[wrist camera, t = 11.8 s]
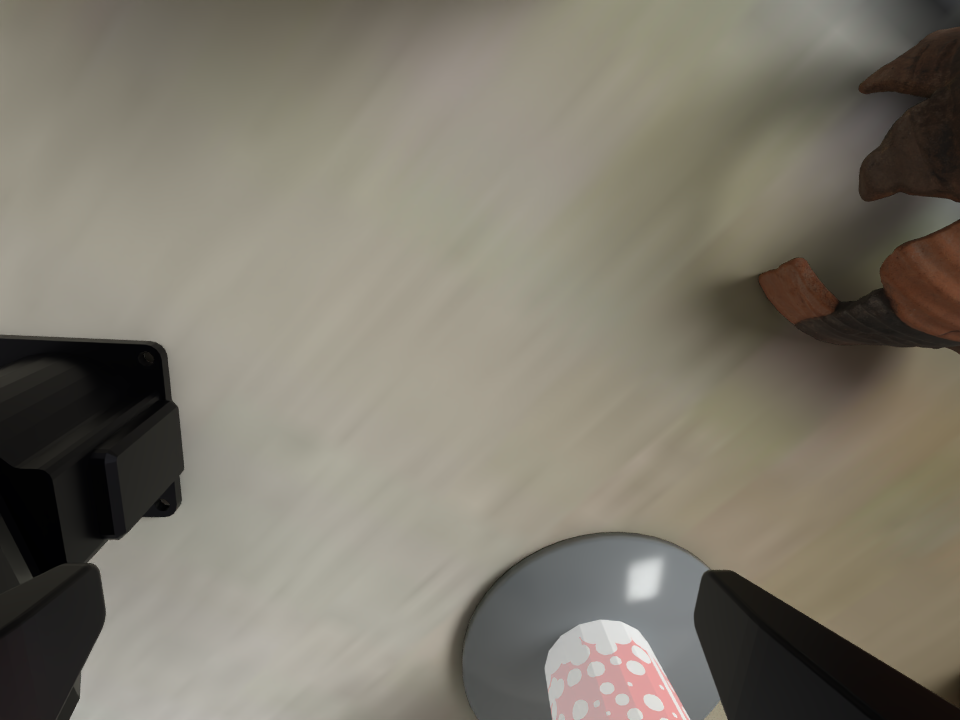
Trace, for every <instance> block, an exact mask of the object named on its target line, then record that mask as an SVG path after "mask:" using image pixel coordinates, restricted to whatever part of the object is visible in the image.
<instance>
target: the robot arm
mask: <svg viewBox="0 0 960 720" xmlns="http://www.w3.org/2000/svg"><path fill="white" fill-rule="evenodd" d="M145 351H146V352H149V353H150V354H152V355H153V357H154V363H152V362H148V361H147V360H146V359H145V357H144V352H145ZM183 470H184V460H183V450H182V440H181V430H180V419H179V409H178V407H177V405H176V404H175V403H174V402H173V401H172V397H171V387H170V377H169V367H168V357H167V353H166V350H165V349H164V348H163V347H162V346H161V345H160V344H158V343H156V342H152V341H134V340H110V339H87V338H64V337H40V336H17V335H0V720H69V719H70V717H71V715H72V713H73V711H74V709H75V707H76V705H77V703H78V701H79V699H80V683H81V670H82V668H83V666H84V664H85V662H86V660H87V658H88V656H89V654H90V652H91V650H92V648H93V646H94V644H95V642H96V640H97V638H98V636H99V634H100V632H101V630H102V628H103V625H104V622H105V616H106V608H105V602H104V595H103V589H102V582H101V575H100V571H99V569H98V567H97V566H96V565H94V564H91V563H87V562H88V561H89V560H90V559H91V558H92V557H93V556H94V555H95V554H96V553H97V552H98V551H99V550H100V548H101V547H102V546H103V545H104V544H105V543H106V542H107V541H108V540H119V539H121V538H122V537H123V536H124V535H126V534H127V533H128V532H129V531H130V530H131V528H132V527H133V526H134V525H135V524H136V523H137V522H138V521H139V520H140V518H141V517H168V516H171V515H172V514H174V513H175V511H176V510H177V509H178V508H179V506H180V505H181V501H182V497H181V487H180V477H179V475H180V474H181V473H182V472H183ZM160 499H165V500H167V501H168V502H169V504H170V505H165V504H163V503H162V502H161V500H160ZM694 626H695V630H696V633H697V636H698V638H699V641H700V644H701V647H702V650H703V652H704V655H705V658H706V661H707V663H708V666H709V669H710V672H711V675H712V677H713V680H714V683H715V686H716V689H717V691H718V694H719V697H720V700H721V703H722V705H723V708H724V711H725V714H726V716H727V719H728V720H960V708H958V707H956V706H955V705H953V704H952V703H950V702H948V701H947V700H945V699H943V698H942V697H940V696H938V695H937V694H935V693H933V692H932V691H930V690H928V689H927V688H925V687H923V686H922V685H920V684H918V683H917V682H915V681H914V680H912V679H910V678H909V677H907V676H905V675H904V674H902V673H900V672H899V671H897V670H895V669H894V668H892V667H890V666H889V665H887V664H885V663H884V662H882V661H881V660H879V659H877V658H876V657H874V656H872V655H871V654H869V653H867V652H866V651H864V650H862V649H861V648H859V647H857V646H856V645H854V644H852V643H851V642H849V641H848V640H846V639H844V638H843V637H841V636H839V635H838V634H836V633H834V632H833V631H831V630H829V629H828V628H826V627H824V626H823V625H821V624H819V623H818V622H816V621H814V620H813V619H811V618H810V617H808V616H806V615H805V614H803V613H801V612H800V611H798V610H796V609H795V608H793V607H791V606H790V605H788V604H786V603H785V602H783V601H781V600H780V599H778V598H777V597H775V596H773V595H772V594H770V593H768V592H767V591H765V590H763V589H762V588H760V587H758V586H757V585H755V584H753V583H752V582H750V581H749V580H747V579H745V578H744V577H742V576H740V575H739V574H737V573H735V572H733V571H731V570H707V571H705V572H704V573H703V575H702V577H701V581H700V586H699V590H698V595H697V600H696V604H695V609H694Z"/></svg>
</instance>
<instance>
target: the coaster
mask: <svg viewBox="0 0 960 720" xmlns="http://www.w3.org/2000/svg"><path fill="white" fill-rule="evenodd" d="M707 570H711V569H710V568H709V567H708V566H707V565H706V564H705V563H704V562H703V561H701V560H700V559H699V558H698V557H696V556H695V555H693V554H692V553H690V552H689V551H688V550H686V549H684V548H682V547H680V546H678V545H676V544H674V543H672V542H669V541H666V540H663V539H660V538H657V537H653V536H648V535H643V534H638V533H625V532H609V533H596V534H590V535H583V536H578V537H575V538H571V539H568V540H564V541H561V542H558V543H556V544H553V545H551V546H548V547H546V548H543V549H541V550H540V551H538V552H536V553H534V554H532V555H530V556H528V557H527V558H525V559H524V560H522V561H521V562H519V563H518V564H516V565H515V566H513V567H512V568H511V569H510V570H508V571H507V572H506V573H505V574H504V575H503V576H502V577H501V578H499V579H498V580H497V581H496V583H495V584H494V585H493V586H492V587H491V588H490V589H489V590H488V592H487V593H486V594H485V595H484V597H483V598H482V600H481V601H480V603H479V604H478V606H477V607H476V609H475V611H474V613H473V615H472V618H471V620H470V622H469V625H468V628H467V631H466V634H465V637H464V644H463V650H462V669H463V681H464V687H465V692H466V695H467V698H468V701H469V704H470V706H471V708H472V710H473V712H474V714H475V715H476V717H477V719H478V720H552V715H551V708H550V701H549V695H548V688H547V681H546V675H545V664H546V660H547V656H548V653H549V650H550V649H551V648H552V646H553V645H554V644H555V643H556V641H557V640H558V639H559V638H560V636H561V635H563V634H565V633H566V632H568V631H569V630H571V629H573V628H574V627H576V626H578V625H579V624H584V623H588V622H592V621H596V620H611V621H621V622H623V623H625V624H627V625H629V626H631V627H633V628H635V629H637V630H638V631H639V632H640V633H641V635H642V636H643V637H644V638H645V640H646V641H647V642H648V644H649V645H650V647H651V649H652V651H653V653H654V655H655V656H656V658H657V660H658V662H659V664H660V665H661V667H662V669H663V671H664V673H665V674H666V676H667V678H668V680H669V682H670V684H671V685H672V687H673V689H674V691H675V693H676V694H677V696H678V698H679V700H680V702H681V703H682V705H683V707H684V709H685V711H686V713H687V714H688V716H689V718H690V720H703V719H704V718H705V717H706V716H707V715H708V714H709V713H710V712H711V711H712V710H713V708H714V707H715V706H716V705H717V704H718V702H719V701H720V697H719V694H718V691H717V689H716V686H715V683H714V680H713V677H712V675H711V672H710V669H709V666H708V663H707V661H706V658H705V655H704V652H703V650H702V647H701V644H700V641H699V638H698V636H697V633H696V630H695V626H694V609H695V604H696V600H697V595H698V590H699V586H700V581H701V577H702V575H703V573H704V572H705V571H707Z"/></svg>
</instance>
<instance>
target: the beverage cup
mask: <svg viewBox="0 0 960 720" xmlns="http://www.w3.org/2000/svg"><path fill="white" fill-rule="evenodd" d="M545 675H546V681H547V688H548V695H549V701H550V708H551V715H552V720H690V718H689V716H688V714H687V713H686V711H685V709H684V707H683V705H682V703H681V702H680V700H679V698H678V696H677V694H676V693H675V691H674V689H673V687H672V685H671V684H670V682H669V680H668V678H667V676H666V674H665V673H664V671H663V669H662V667H661V665H660V664H659V662H658V660H657V658H656V656H655V655H654V653H653V651H652V649H651V647H650V645H649V644H648V642H647V641H646V640H645V638H644V637H643V636H642V635H641V633H640V632H639V631H638V630H637V629H635V628H633V627H631V626H629V625H627V624H625V623H623V622H621V621H611V620H596V621H592V622H588V623H584V624H579V625H578V626H576V627H574V628H573V629H571V630H569V631H568V632H566V633H565V634H563V635H561V636H560V638H559V639H558V640H557V641H556V643H555V644H554V645H553V646H552V648H551V649H550V650H549V653H548V656H547V660H546V664H545Z"/></svg>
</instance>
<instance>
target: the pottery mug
mask: <svg viewBox="0 0 960 720" xmlns="http://www.w3.org/2000/svg"><path fill="white" fill-rule="evenodd" d="M859 91H860V92H861V93H864V94H870V93H875V92H887V91H889V92H898V93H903V94H910V95H913V96H920V97H926V98H929V99H927V100H925V101H923V102H921V103H919V104H917V105H915V106H913V107H911V108H909V109H908V110H907V111H906V112H905V113H904V114H903V115H902V116H901V117H900V118H899V119H898V120H897V121H896V122H895V123H894V124H893V126H892V127H891V129H890V130H889V131H888V133H887V135H886V136H885V138H884V140H883V141H882V143H881V144H880V146H879V147H878V148H876V149H875V150H874V151H873V152H871V153H870V154H869V155H868V156H867V157H866V158H865V159H864V161H863V162H862V165H861V167H860V174H859V193H860V196H861V198H862V199H863V200H864V201H866V202H870V201H875V200H878V199H882V198H885V197H888V196H891V195H894V194H896V193H898V192H903V193H906V194H909V195H918V196H927V197H938V198H946V199H950V200H953V201H955V202H960V27H955V28H950V29H943V30H937V31H935V32H933V33H931V34H929V35H928V36H926V37H925V38H924V39H923V40H921V41H920V42H919V43H918V44H917V45H916V46H914V47H913V48H911V49H910V50H908V51H907V52H905V53H904V54H903V55H901V56H899V57H898V58H897V59H895V60H894V61H892V62H890V63H889V64H886V65H884V66H883V67H881V68H880V69H879V70H877V71H876V72H875V73H873V74H872V75H871V76H870V77H868V78H867V79H866V80H865V81H863V82H862V83H861V84H860V86H859ZM880 276H881V282H882V284H883V288H880V289H877V290H874V291H872V292H871V293H870V294H868V295H866V296H864V297H862V298H860V299H859V300H857V301H849V302H840V301H839V300H838V299H837V298H836V297H835V296H834V295H833V294H832V293H831V292H830V291H828V290H827V289H826V287H825V286H824V284H823V283H822V282H821V281H820V280H819V279H818V277H817V276H816V274H815V273H814V272H813V270H812V269H811V267H810V266H809V264H808V262H807V261H806V260H805V259H803V258H794V259H792V260H790V261H788V262H786V263H783V264H782V265H780V266H779V268H777V269H773V270H769V271H767V272H764V273H762V274H760V275H759V283H760V285H761V287H762V288H763V290H764V293H765V294H766V296H767V298H768V299H769V300H770V301H771V303H772V304H773V305H774V306H775V308H776V309H777V310H778V311H779V312H780V313H781V314H782V315H783V316H784V317H786V318H787V320H789V321H790V322H792V323H793V324H794V325H795V326H796V327H797V328H798V329H800V330H801V331H803V332H805V333H806V334H808V335H811V336H812V337H814V338H815V339H818V340H821V341H825V342H829V343H833V344H841V345H854V344H867V345H889V346H894V347H916V346H917V347H923V348H933V349H939V348H943V347H946V348H949V349H951V350H954V351H956V352H957V353H959V354H960V219H959V220H957V221H956V222H954V223H952V224H950V225H948V226H946V227H944V228H942V229H940V230H938V231H936V232H934V233H931V234H929V235H927V236H924V237H921V238H918V239H914V240H911V241H908V242H905V243H903V244H902V245H900V246H898V247H897V248H896V249H895V250H894V252H893V253H892V254H891V255H889V256H888V257H887V258H886V259H885V261H884V262H883V264H882V266H881V268H880Z"/></svg>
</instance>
